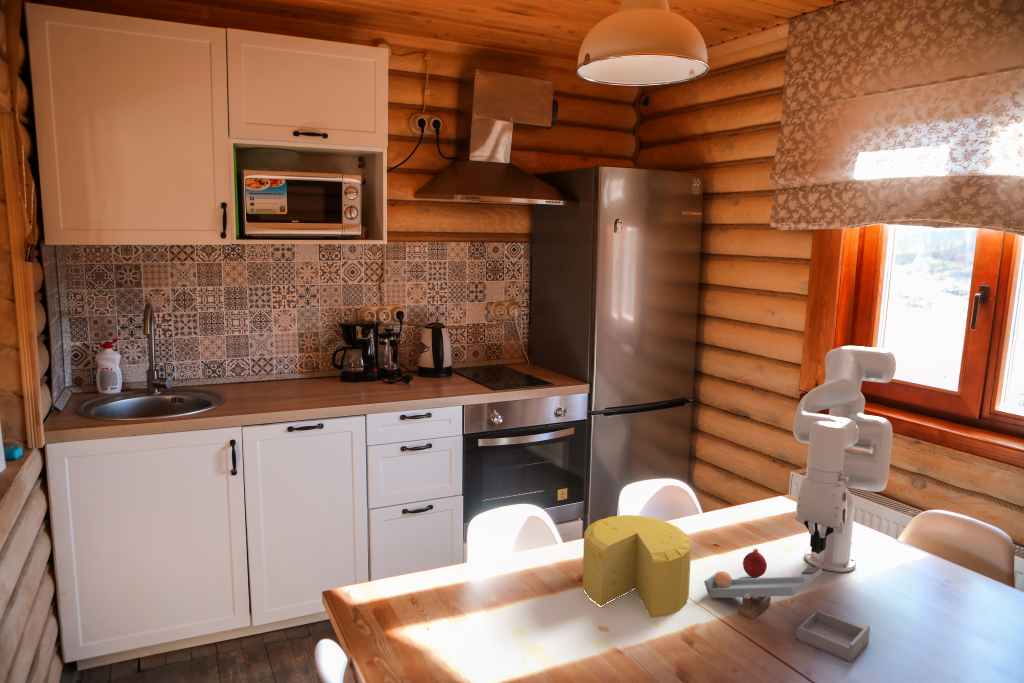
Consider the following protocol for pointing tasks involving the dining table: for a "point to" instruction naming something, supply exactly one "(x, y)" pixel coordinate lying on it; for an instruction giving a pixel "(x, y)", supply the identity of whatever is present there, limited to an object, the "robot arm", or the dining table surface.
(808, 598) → the dining table surface
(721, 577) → the ball
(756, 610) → the fulcrum
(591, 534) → the cheese
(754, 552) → the onion
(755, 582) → the lever
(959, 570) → the dining table surface
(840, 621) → the dish
